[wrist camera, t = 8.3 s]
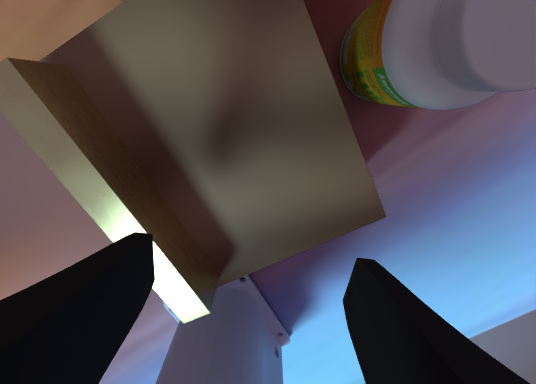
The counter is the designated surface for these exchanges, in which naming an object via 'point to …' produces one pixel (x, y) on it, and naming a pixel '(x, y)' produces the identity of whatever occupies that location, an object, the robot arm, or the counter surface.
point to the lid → (198, 137)
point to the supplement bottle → (440, 51)
